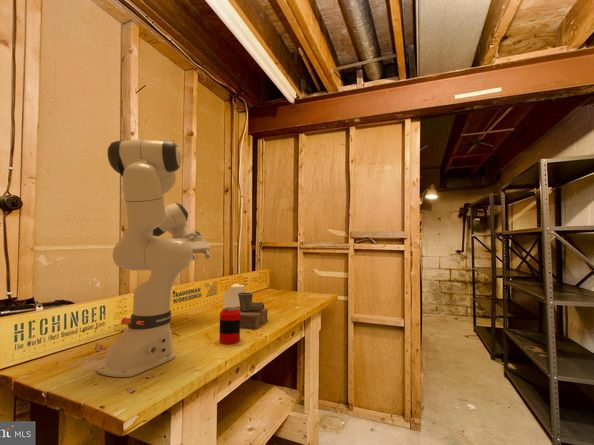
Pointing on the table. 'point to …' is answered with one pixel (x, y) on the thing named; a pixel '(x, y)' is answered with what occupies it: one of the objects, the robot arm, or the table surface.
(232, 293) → the corner bracket
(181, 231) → the robot arm
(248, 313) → the walnut block
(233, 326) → the soda can
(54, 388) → the table surface
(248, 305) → the pipe
